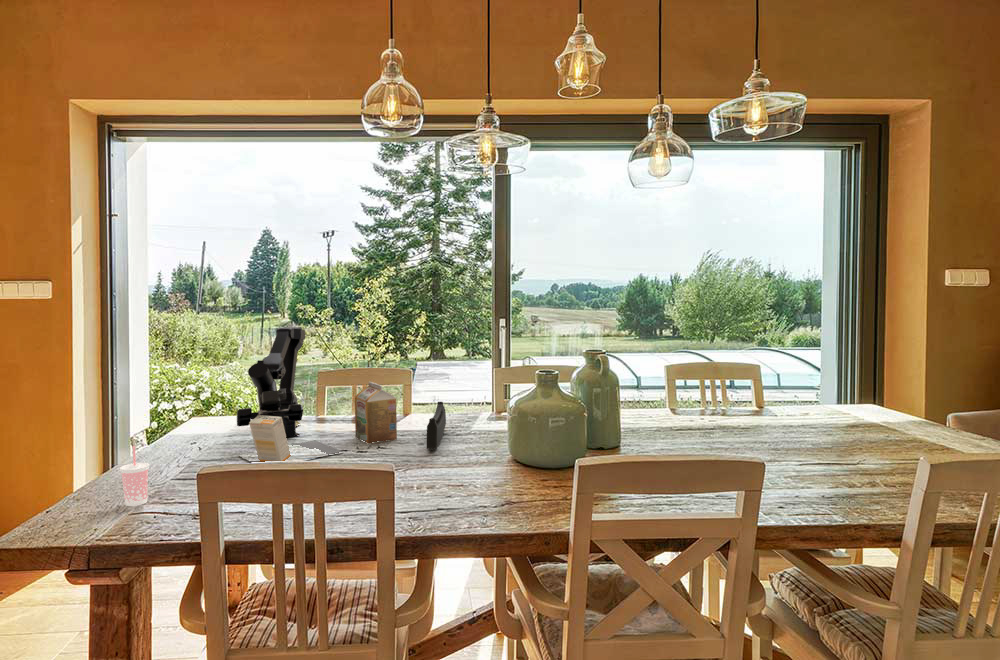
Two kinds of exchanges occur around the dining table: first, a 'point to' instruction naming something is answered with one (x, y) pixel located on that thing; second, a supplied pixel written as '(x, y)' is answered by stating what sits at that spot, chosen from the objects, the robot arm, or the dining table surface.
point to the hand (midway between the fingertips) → (273, 438)
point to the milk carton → (375, 414)
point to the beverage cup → (135, 482)
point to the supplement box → (269, 438)
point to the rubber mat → (317, 447)
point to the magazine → (436, 427)
